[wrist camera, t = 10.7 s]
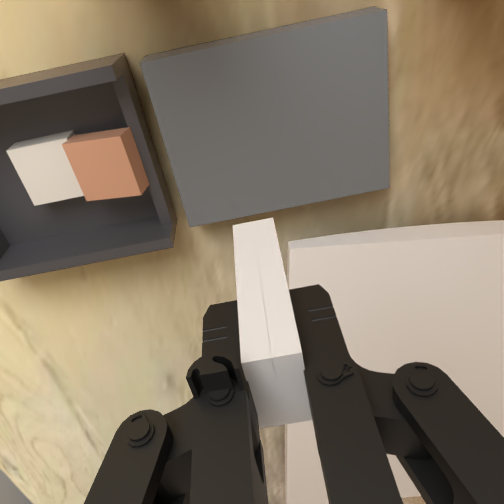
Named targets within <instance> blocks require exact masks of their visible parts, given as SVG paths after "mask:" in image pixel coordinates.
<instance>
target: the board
mask: <svg viewBox="0 0 504 504" xmlns="http://www.w3.org/2000/svg"><path fill="white" fill-rule="evenodd" d="M317 284H319V285H320V286H322V287H323V288H324V289H325V290H326V291H327V292H328V293H329V295H330V298H331V301H332V304H333V308H334V310H335V313H336V317H337V319H338V322H339V325H340V328H341V331H342V334H343V337H344V340H345V343H346V346H347V349H348V352H349V354H350V356H351V358H352V359H353V360H354V361H355V362H356V363H357V364H358V365H360V366H361V367H363V368H365V369H368V370H370V371H375V372H382V373H392V374H395V372H396V370H397V369H398V368H400V367H401V366H403V365H404V364H407V363H412V362H424V363H429V364H431V365H434V366H436V367H438V368H440V369H441V370H442V371H443V372H445V373H446V374H447V375H448V376H449V377H450V378H451V380H452V381H453V382H454V383H455V384H456V385H457V386H458V387H459V388H460V390H461V391H462V392H463V393H464V394H465V395H466V396H467V397H468V398H469V399H470V401H471V402H472V403H473V404H474V405H475V406H476V407H477V408H478V409H479V411H480V412H481V413H482V414H483V415H484V416H485V417H486V418H487V419H488V421H489V422H490V423H491V424H492V425H493V426H494V427H495V428H496V429H497V430H498V432H499V433H500V434H501V435H502V436H503V437H504V220H498V221H477V222H460V223H445V224H432V225H419V226H408V227H397V228H387V229H378V230H369V231H360V232H352V233H344V234H336V235H329V236H322V237H315V238H308V239H301V240H294V241H288V246H287V285H288V289H289V290H290V289H295V288H301V287H306V286H311V285H317ZM387 457H388V460H389V463H390V466H391V469H392V472H393V475H394V478H395V481H396V484H397V487H398V490H399V493H400V496H401V498H405V497H415V496H421V495H420V493H419V491H418V490H417V488H416V487H415V485H414V484H413V482H412V480H411V479H410V477H409V476H408V474H407V473H406V471H405V470H404V468H403V466H402V465H401V463H400V462H399V460H398V459H397V457H396V455H390V454H387ZM285 501H286V504H329V501H328V496H327V491H326V486H325V481H324V477H323V472H322V467H321V462H320V457H319V454H318V448H317V442H316V437H315V431H314V425H313V420H309V421H303V422H298V423H292V424H286V425H285Z"/></svg>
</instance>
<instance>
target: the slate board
mask: <svg viewBox="0 0 504 504" xmlns="http://www.w3.org/2000/svg"><path fill="white" fill-rule="evenodd" d="M140 66H141V69H142V73H143V76H144V79H145V82H146V86H147V89H148V92H149V96H150V99H151V102H152V105H153V109H154V112H155V115H156V118H157V122H158V125H159V128H160V132H161V135H162V138H163V141H164V145H165V148H166V151H167V155H168V158H169V161H170V164H171V168H172V171H173V174H174V178H175V181H176V184H177V187H178V191H179V194H180V197H181V201H182V204H183V207H184V210H185V214H186V217H187V220H188V224H189V227H195V226H200V225H205V224H210V223H215V222H220V221H225V220H230V219H235V218H240V217H245V216H250V215H255V214H260V213H266V212H271V211H276V210H281V209H286V208H291V207H296V206H301V205H306V204H311V203H316V202H321V201H326V200H331V199H336V198H341V197H346V196H351V195H356V194H361V193H366V192H371V191H376V190H381V189H387V188H390V186H389V111H388V37H387V10H386V9H382V8H378V7H370V8H365V9H361V10H356V11H351V12H347V13H342V14H337V15H333V16H328V17H323V18H319V19H314V20H309V21H305V22H300V23H296V24H291V25H286V26H282V27H277V28H272V29H268V30H263V31H258V32H254V33H249V34H244V35H240V36H235V37H230V38H226V39H221V40H217V41H212V42H207V43H203V44H198V45H193V46H189V47H184V48H179V49H175V50H170V51H165V52H161V53H156V54H151V55H147V56H145V57H144V58H143V59H142V60H141V62H140Z"/></svg>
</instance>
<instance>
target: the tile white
mask: <svg viewBox="0 0 504 504" xmlns="http://www.w3.org/2000/svg"><path fill="white" fill-rule="evenodd" d="M73 135H75V133H74V131H73V130H72V131H67V132H63V133H58V134H53V135H49V136H44V137H39V138H34V139H30V140H25V141H20V142H16V143H14V144H13V145H12V146H11V147H10V148H9V149H8V150H7V151H6V152H7V154H8V156H9V157H10V159H11V161H12V163H13V165H14V167H15V169H16V171H17V173H18V175H19V177H20V179H21V181H22V183H23V185H24V187H25V188H26V190H27V192H28V194H29V196H30V198H31V200H32V202H33V204H34V206H36V205H41V204H46V203H51V202H56V201H61V200H66V199H70V198H75V197H80V196H84V194H83V192H82V190H81V187H80V185H79V183H78V181H77V178H76V176H75V174H74V171H73V169H72V167H71V165H70V162H69V160H68V158H67V156H66V153H65V151H64V149H63V146H62V144H63V143H64V142H65V141H67V140H68V139H69V138H71V137H72V136H73Z"/></svg>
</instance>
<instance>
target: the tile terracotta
mask: <svg viewBox="0 0 504 504" xmlns="http://www.w3.org/2000/svg"><path fill="white" fill-rule="evenodd" d="M62 146H63V149H64V151H65V153H66V156H67V158H68V160H69V162H70V165H71V167H72V169H73V171H74V174H75V176H76V178H77V181H78V183H79V185H80V187H81V190H82V192H83V194H84V196H85V199H86V201H93V200H103V199H112V198H121V197H130V196H139V195H142V194H143V192H144V191H145V190H146V188H147V187H148V186H149V181H148V178H147V175H146V173H145V170H144V167H143V164H142V161H141V158H140V155H139V152H138V149H137V146H136V143H135V141H134V138H133V135H132V132H131V129H130V127H126V128H120V129H113V130H106V131H99V132H92V133H86V134H79V135H73V136H72V137H71V138H69V139H68V140H67V141H65V142H64V143H63V144H62Z"/></svg>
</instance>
